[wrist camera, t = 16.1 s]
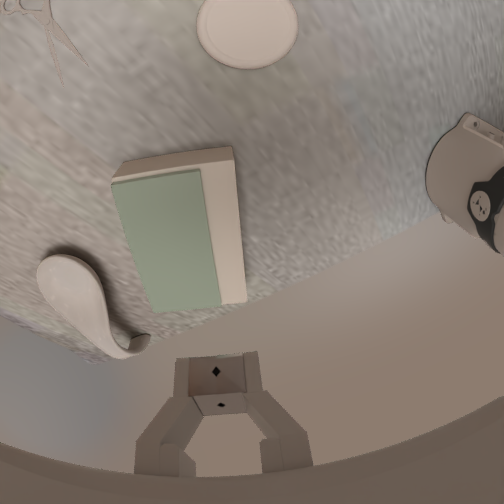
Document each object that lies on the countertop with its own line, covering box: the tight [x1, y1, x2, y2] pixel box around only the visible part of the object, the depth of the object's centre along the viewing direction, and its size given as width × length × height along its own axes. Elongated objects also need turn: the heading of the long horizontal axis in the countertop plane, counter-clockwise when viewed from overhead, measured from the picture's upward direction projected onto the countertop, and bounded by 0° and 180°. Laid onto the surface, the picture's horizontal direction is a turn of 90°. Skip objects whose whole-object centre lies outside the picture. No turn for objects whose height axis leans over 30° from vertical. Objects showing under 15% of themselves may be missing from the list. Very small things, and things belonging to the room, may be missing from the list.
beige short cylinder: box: [197, 0, 298, 69], centre depth 24 cm, size 10×10×4 cm
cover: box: [111, 169, 222, 313], centre depth 35 cm, size 10×19×1 cm, turn 3°
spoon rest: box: [36, 254, 150, 359], centre depth 42 cm, size 24×12×7 cm, turn 26°
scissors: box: [0, 0, 88, 87], centre depth 20 cm, size 11×1×20 cm
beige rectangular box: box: [112, 146, 247, 305], centre depth 37 cm, size 13×20×5 cm, turn 3°
